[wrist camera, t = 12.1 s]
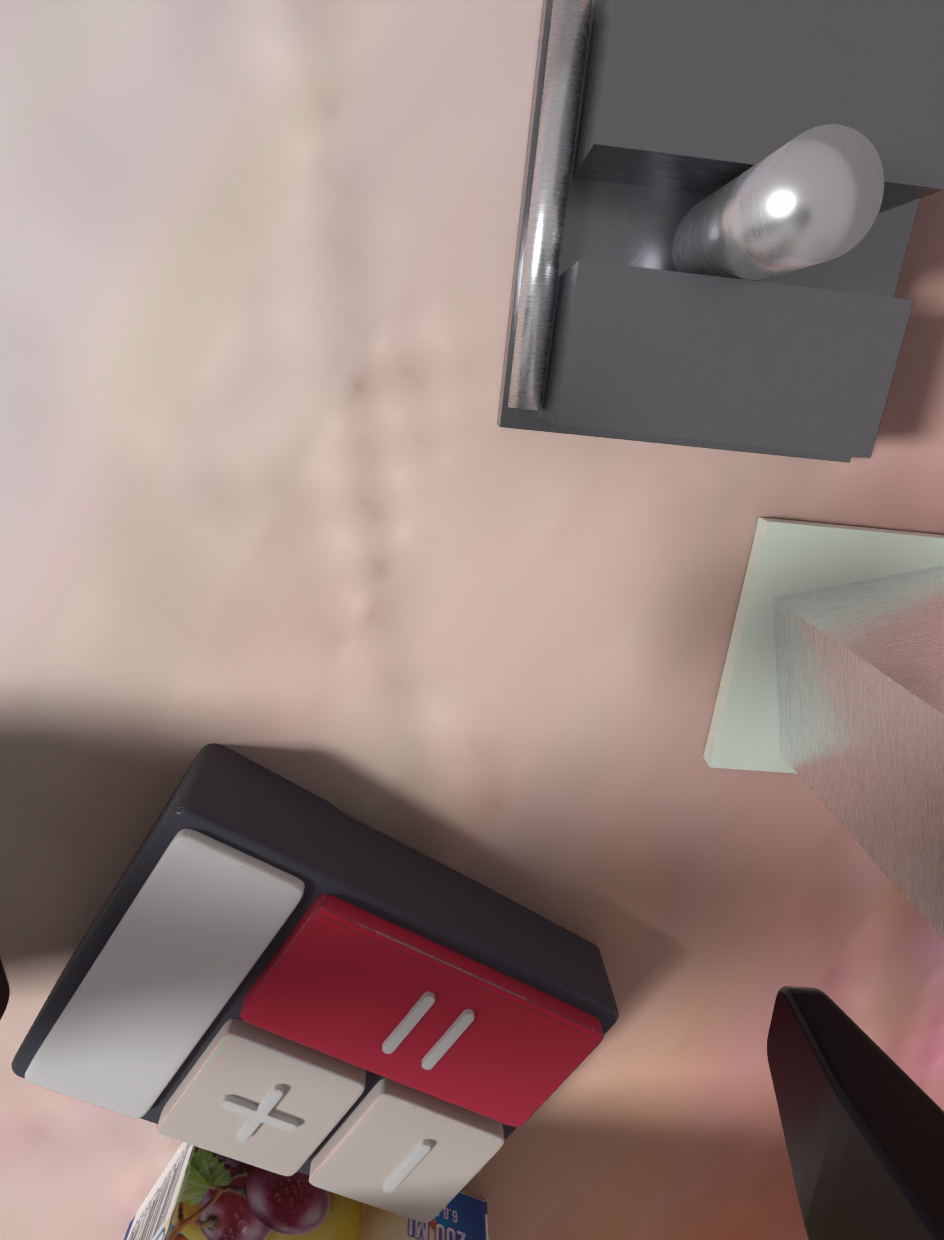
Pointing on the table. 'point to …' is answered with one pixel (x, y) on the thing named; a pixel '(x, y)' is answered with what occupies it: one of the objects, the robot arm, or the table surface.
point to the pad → (775, 568)
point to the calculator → (316, 997)
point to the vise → (721, 220)
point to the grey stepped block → (871, 718)
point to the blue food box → (278, 1207)
